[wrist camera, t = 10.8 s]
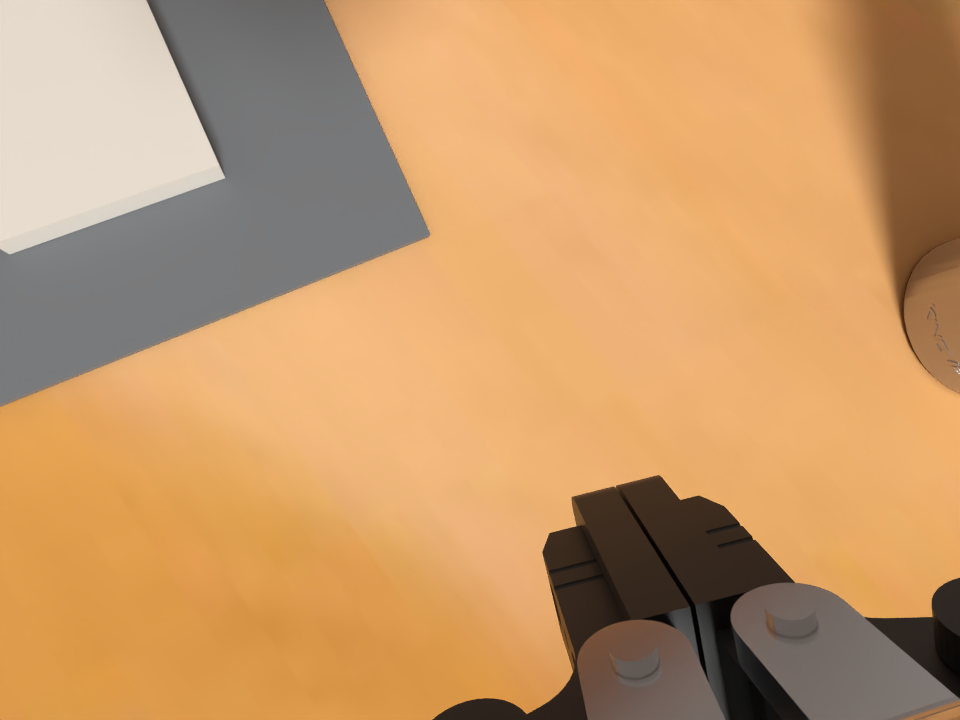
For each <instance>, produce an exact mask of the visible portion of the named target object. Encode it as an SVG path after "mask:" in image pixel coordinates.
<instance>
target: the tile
mask: <svg viewBox="0 0 960 720" xmlns="http://www.w3.org/2000/svg"><path fill="white" fill-rule="evenodd" d="M224 178H225V176H224V174H223V172H222V169H221V167H220V165H219V163H218V160H217V158H216V156H215V154H214V151H213V149H212V147H211V144H210V142H209V140H208V138H207V135H206V133H205V131H204V129H203V126H202V124H201V122H200V120H199V117H198V115H197V113H196V111H195V108H194V106H193V104H192V102H191V99H190V97H189V95H188V92H187V90H186V88H185V86H184V83H183V81H182V79H181V77H180V74H179V72H178V70H177V68H176V65H175V63H174V61H173V59H172V56H171V54H170V52H169V50H168V47H167V45H166V43H165V40H164V38H163V36H162V34H161V31H160V29H159V27H158V25H157V22H156V20H155V18H154V16H153V13H152V11H151V9H150V7H149V4H148V2H147V0H0V249H1V250H3V251H4V252H6V253H8V254H13V253H15V252H18V251H21V250H24V249H27V248H29V247H32V246H35V245H38V244H41V243H44V242H46V241H49V240H52V239H55V238H58V237H61V236H63V235H66V234H69V233H72V232H75V231H78V230H80V229H83V228H86V227H89V226H92V225H94V224H97V223H100V222H103V221H106V220H109V219H111V218H114V217H117V216H120V215H123V214H126V213H128V212H131V211H134V210H137V209H140V208H143V207H145V206H148V205H151V204H154V203H157V202H159V201H162V200H165V199H168V198H171V197H174V196H176V195H179V194H182V193H185V192H188V191H191V190H193V189H196V188H199V187H202V186H205V185H207V184H210V183H213V182H216V181H219V180H222V179H224Z"/></svg>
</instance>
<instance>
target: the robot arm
mask: <svg viewBox="0 0 960 720" xmlns="http://www.w3.org/2000/svg"><path fill="white" fill-rule="evenodd" d="M904 319H905V324H906V330H907V334H908V337H909V339H910V342H911V345H912V347H913V350H914V351H915V353H916V355H917V356H918V358H919V360H920V361H921V363H922V365H923V366H924V367H925V368H926V369H927V370H928V371H929V372H930V374H931V375H932V376H933V377H934V378H935V379H937V380H938V381H939V382H941V383H942V384H943V385H945V386H946V387H947V388H949V389H951V390H953V391H955V392H957V393H960V238H957V239H954V240H952V241H949V242H946V243H944V244H942V245H940V246H938V247H935V248H933V249H932V250H931V251H930V252H928V253H927V254H926V255H925V256H924V257H922V259H921V260H920V261H919V263H918V264H917V265H916V267H915V268H914V269H913V272H912V274H911V276H910V278H909V281H908V283H907V287H906V292H905V297H904ZM572 506H573V511H574V516H575V521H576V525H577V526H576V527H572V528H568V529H564V530H560V531H556V532H552V533H550V534H549V536H548V539H547V541H546V544H545V547H544V549H543V552H542V553H543V557H544V561H545V565H546V570H547V574H548V578H549V583H550V587H551V591H552V595H553V600H554V604H555V608H556V612H557V617H558V621H559V625H560V629H561V633H562V636H563V640H564V643H565V646H566V649H567V653H568V656H569V659H570V663H571V666H572V669H573V674H572V676H571V678H570V680H569V682H568V683H567V684H566V686H565V687H564V688H563V689H562V691H561V692H560V693H559V694H558V695H556V696H555V697H554V698H553V699H552V700H550V701H549V702H547V703H546V704H544V705H543V706H541V707H539V708H537V709H536V710H534V711H532V712H530V713H528V714H526V713H525V712H524V711H523V710H522V709H521V708H519V707H517V706H516V705H514V704H512V703H510V702H507V701H504V700H499V699H489V698H484V699H475V700H470V701H466V702H463V703H460V704H457V705H455V706H453V707H451V708H449V709H447V710H445V711H444V712H442V713H441V714H439V715H438V716H437V717H435V718H434V719H433V720H960V578H958V579H954V580H952V581H949V582H947V583H945V584H944V585H942V586H941V587H939V588H938V590H937V591H936V592H935V593H934V595H933V598H932V615H933V617H920V618H867V617H863V616H862V615H861V614H859V613H858V612H857V611H856V610H855V609H854V608H852V607H851V606H850V605H849V604H848V603H847V602H845V601H844V600H843V599H841V598H840V597H839V596H837V595H835V594H834V593H832V592H830V591H828V590H825V589H822V588H820V587H816V586H812V585H807V584H801V583H795V582H794V581H793V580H792V579H791V578H790V577H789V576H788V575H787V573H786V572H785V571H784V570H783V569H782V568H781V567H780V566H779V565H778V564H777V563H776V562H775V561H774V559H773V558H772V557H771V556H770V555H769V554H768V553H767V552H766V551H765V550H764V549H763V548H762V547H761V545H760V544H759V543H758V542H757V541H756V540H753V538H752V536H751V535H750V534H749V533H748V531H747V530H746V529H745V528H744V527H743V526H740V523H739V522H738V521H737V520H736V519H735V517H734V516H733V515H732V514H731V513H730V512H729V511H728V510H727V509H726V508H725V507H724V506H722V505H720V504H717V503H715V502H713V501H710V500H708V499H706V498H704V497H701V496H695V497H691V498H687V499H683V500H680V499H679V498H678V497H677V496H676V494H675V493H674V492H673V491H672V489H671V488H670V487H669V486H668V485H667V483H666V482H665V481H664V480H663V478H662V477H661V476H659V475H657V476H653V477H649V478H645V479H641V480H637V481H633V482H629V483H625V484H621V485H617V486H616V488H615V487H610V488H606V489H602V490H598V491H594V492H590V493H586V494H582V495H578V496H574V497H572Z"/></svg>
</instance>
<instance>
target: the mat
mask: <svg viewBox="0 0 960 720" xmlns="http://www.w3.org/2000/svg"><path fill="white" fill-rule="evenodd" d="M147 2H148V4H149V7H150V9H151V11H152V13H153V16H154V18H155V20H156V22H157V25H158V27H159V29H160V31H161V34H162V36H163V38H164V40H165V43H166V45H167V47H168V50H169V52H170V54H171V56H172V59H173V61H174V63H175V65H176V68H177V70H178V72H179V74H180V77H181V79H182V81H183V83H184V86H185V88H186V90H187V92H188V95H189V97H190V99H191V102H192V104H193V106H194V108H195V111H196V113H197V115H198V117H199V120H200V122H201V124H202V126H203V129H204V131H205V133H206V135H207V138H208V140H209V142H210V144H211V147H212V149H213V151H214V154H215V156H216V158H217V160H218V163H219V165H220V167H221V169H222V172H223V174H224V176H225V178H224V179H222V180H219V181H216V182H213V183H210V184H207V185H205V186H202V187H199V188H196V189H193V190H191V191H188V192H185V193H182V194H179V195H176V196H174V197H171V198H168V199H165V200H162V201H159V202H157V203H154V204H151V205H148V206H145V207H143V208H140V209H137V210H134V211H131V212H128V213H126V214H123V215H120V216H117V217H114V218H111V219H109V220H106V221H103V222H100V223H97V224H94V225H92V226H89V227H86V228H83V229H80V230H78V231H75V232H72V233H69V234H66V235H63V236H61V237H58V238H55V239H52V240H49V241H46V242H44V243H41V244H38V245H35V246H32V247H29V248H27V249H24V250H21V251H18V252H15V253H13V254H8V253H6V252H4V251H3V250H1V249H0V406H3V405H6V404H8V403H11V402H13V401H16V400H18V399H21V398H23V397H26V396H28V395H31V394H33V393H36V392H38V391H41V390H43V389H46V388H48V387H51V386H53V385H56V384H59V383H61V382H64V381H66V380H69V379H71V378H74V377H76V376H79V375H81V374H84V373H86V372H89V371H91V370H94V369H96V368H99V367H101V366H104V365H107V364H109V363H112V362H114V361H117V360H119V359H122V358H124V357H127V356H129V355H132V354H134V353H137V352H139V351H142V350H144V349H147V348H149V347H152V346H154V345H157V344H160V343H162V342H165V341H167V340H170V339H172V338H175V337H177V336H180V335H182V334H185V333H187V332H190V331H192V330H195V329H197V328H200V327H202V326H205V325H208V324H210V323H213V322H215V321H218V320H220V319H223V318H225V317H228V316H230V315H233V314H235V313H238V312H240V311H243V310H245V309H248V308H250V307H253V306H255V305H258V304H261V303H263V302H266V301H268V300H271V299H273V298H276V297H278V296H281V295H283V294H286V293H288V292H291V291H293V290H296V289H298V288H301V287H303V286H306V285H309V284H311V283H314V282H316V281H319V280H321V279H324V278H326V277H329V276H331V275H334V274H336V273H339V272H341V271H344V270H346V269H349V268H351V267H354V266H356V265H359V264H362V263H364V262H367V261H369V260H372V259H374V258H377V257H379V256H382V255H384V254H387V253H389V252H392V251H394V250H397V249H399V248H402V247H404V246H407V245H410V244H412V243H415V242H417V241H420V240H422V239H425V238H427V237H429V235H430V233H429V230H428V228H427V226H426V224H425V222H424V219H423V217H422V215H421V213H420V211H419V209H418V206H417V204H416V202H415V200H414V198H413V195H412V193H411V191H410V189H409V187H408V184H407V182H406V180H405V178H404V176H403V173H402V171H401V169H400V167H399V165H398V163H397V160H396V158H395V156H394V154H393V152H392V149H391V147H390V145H389V143H388V141H387V138H386V136H385V134H384V132H383V130H382V127H381V125H380V123H379V121H378V119H377V117H376V114H375V112H374V110H373V108H372V106H371V103H370V101H369V99H368V97H367V95H366V92H365V90H364V88H363V86H362V84H361V81H360V79H359V77H358V75H357V73H356V71H355V68H354V66H353V64H352V62H351V60H350V57H349V55H348V53H347V51H346V49H345V46H344V44H343V42H342V40H341V38H340V35H339V33H338V31H337V29H336V27H335V25H334V22H333V20H332V18H331V16H330V14H329V11H328V9H327V7H326V5H325V3H324V0H147Z"/></svg>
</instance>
